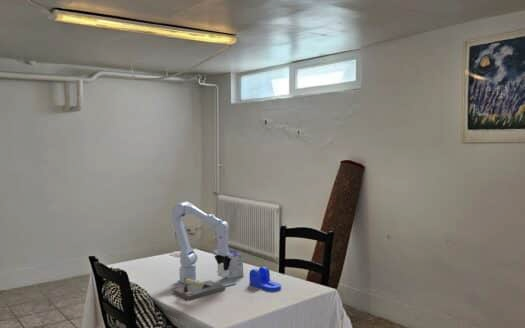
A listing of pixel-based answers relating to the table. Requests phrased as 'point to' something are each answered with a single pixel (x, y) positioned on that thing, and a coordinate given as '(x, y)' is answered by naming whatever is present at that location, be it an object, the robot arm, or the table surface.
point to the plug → (222, 270)
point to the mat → (226, 283)
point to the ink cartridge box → (235, 265)
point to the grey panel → (199, 290)
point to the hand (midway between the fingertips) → (223, 269)
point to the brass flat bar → (191, 283)
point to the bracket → (263, 279)
